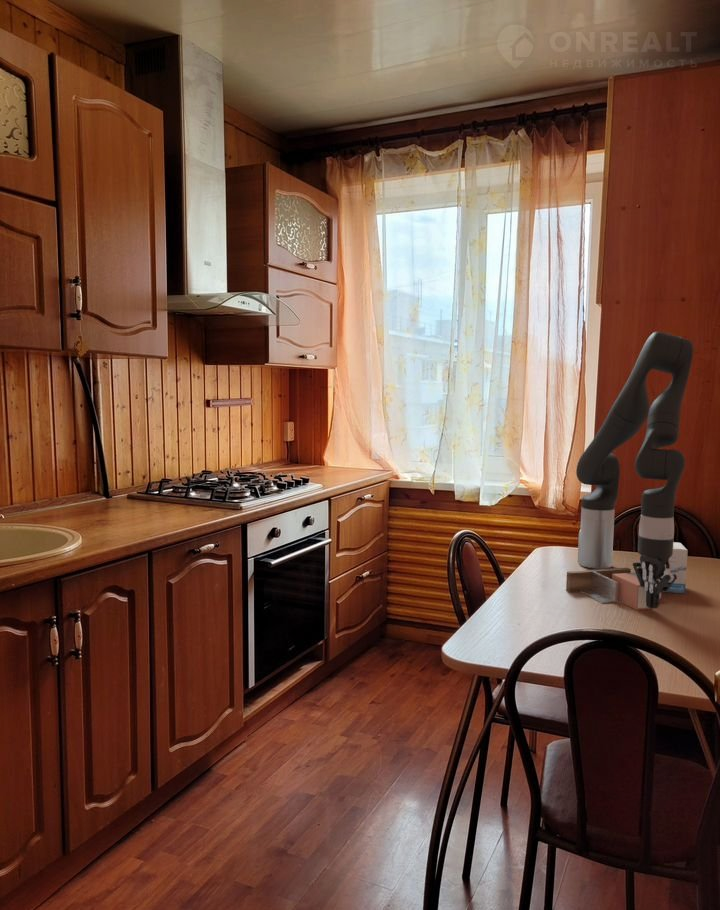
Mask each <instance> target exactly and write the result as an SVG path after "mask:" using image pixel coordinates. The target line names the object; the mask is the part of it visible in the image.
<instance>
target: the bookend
mask: <svg viewBox="0 0 720 910" xmlns="http://www.w3.org/2000/svg"><path fill="white" fill-rule="evenodd" d="M618 586H619V582H617V581H614V580H612V579H610V578H608V577H606V576H604V575H601V574H599V573H597V572H592V588H591V589H586V590H579V593H582V594H583V595H585V596H587V597H589V598H591V599H593V600H595V601H597V602H599V603H601V604H612V603H613V604H614V603H618V602H619V601H618Z"/></svg>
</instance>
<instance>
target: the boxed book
mask: <svg viewBox="0 0 720 910" xmlns="http://www.w3.org/2000/svg"><path fill="white" fill-rule="evenodd" d="M612 580H614V581H617V582H619V586H618V602H619V603H622V604H624V605H625V606H628V607H630V608H632V609H634V610H636V611H637V610H638V611H640V610H650V609H651V608H649V607H647V606H646V590H645V587H644V586H641V585H640V583H639V580H638V578H636V577H634V576H632V575H629V574H627V573H620V574H612Z"/></svg>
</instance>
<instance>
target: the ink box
mask: <svg viewBox="0 0 720 910" xmlns="http://www.w3.org/2000/svg"><path fill="white" fill-rule="evenodd" d="M688 552H689V551H688V549H687V548H686V547H685V545H683V544H682V543H681V542H675V541H673V555H672V556H671V557H670V558H669V564H670V568H669V570H670V572H671V573H672V574H675V575H676V576H677V579H676V580H675V581H674V583H673V584H672V585H671V586H670V588H669V589H668V590H667V592H666V593H673V594H674V593H675V594H686V582H687V565H688Z"/></svg>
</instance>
